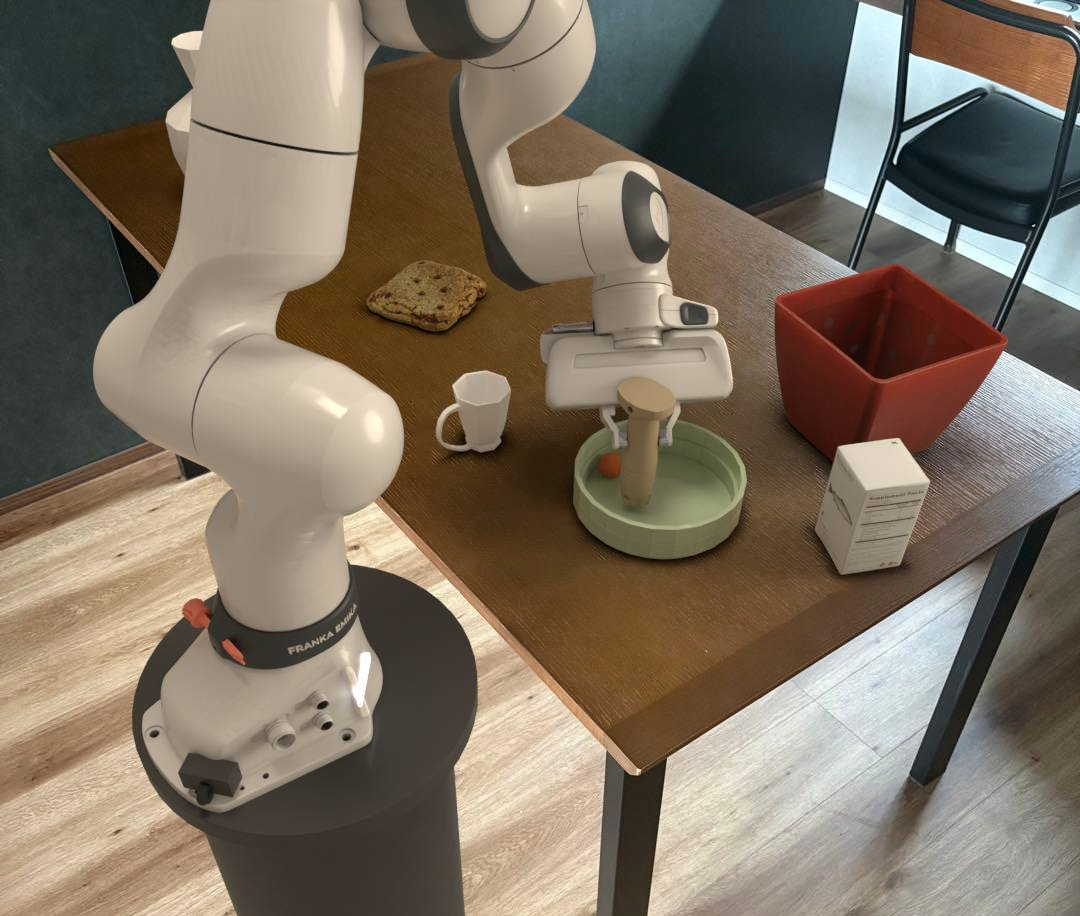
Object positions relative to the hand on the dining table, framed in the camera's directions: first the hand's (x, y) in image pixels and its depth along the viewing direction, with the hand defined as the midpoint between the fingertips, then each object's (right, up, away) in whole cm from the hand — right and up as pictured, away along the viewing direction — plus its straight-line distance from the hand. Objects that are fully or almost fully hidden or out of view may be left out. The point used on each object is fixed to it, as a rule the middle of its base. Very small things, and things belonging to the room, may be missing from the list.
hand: (642, 447), depth 116 cm
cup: (-19, +1, +15) cm, 25 cm away
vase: (-61, +45, +59) cm, 96 cm away
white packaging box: (+24, -11, +3) cm, 27 cm away
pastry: (-27, +24, +38) cm, 52 cm away
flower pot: (+28, +3, +18) cm, 34 cm away
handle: (0, -6, +6) cm, 9 cm away
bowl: (+2, -6, +8) cm, 10 cm away
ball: (-3, -1, +9) cm, 10 cm away
